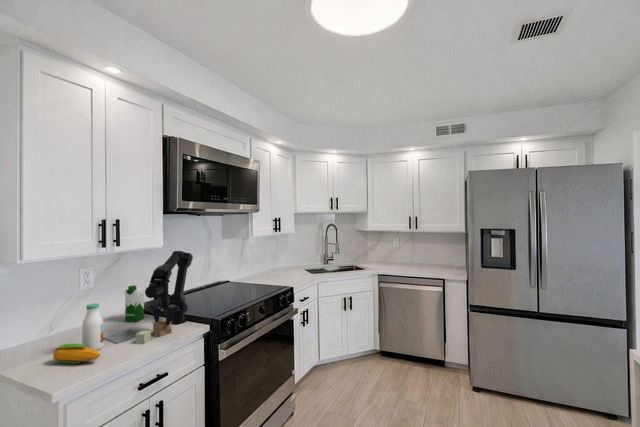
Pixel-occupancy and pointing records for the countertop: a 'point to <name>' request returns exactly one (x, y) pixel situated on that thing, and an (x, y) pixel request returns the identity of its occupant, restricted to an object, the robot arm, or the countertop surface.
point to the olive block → (143, 337)
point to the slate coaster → (121, 336)
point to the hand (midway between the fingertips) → (162, 323)
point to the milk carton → (134, 304)
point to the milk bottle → (92, 328)
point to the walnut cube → (161, 328)
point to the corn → (75, 353)
